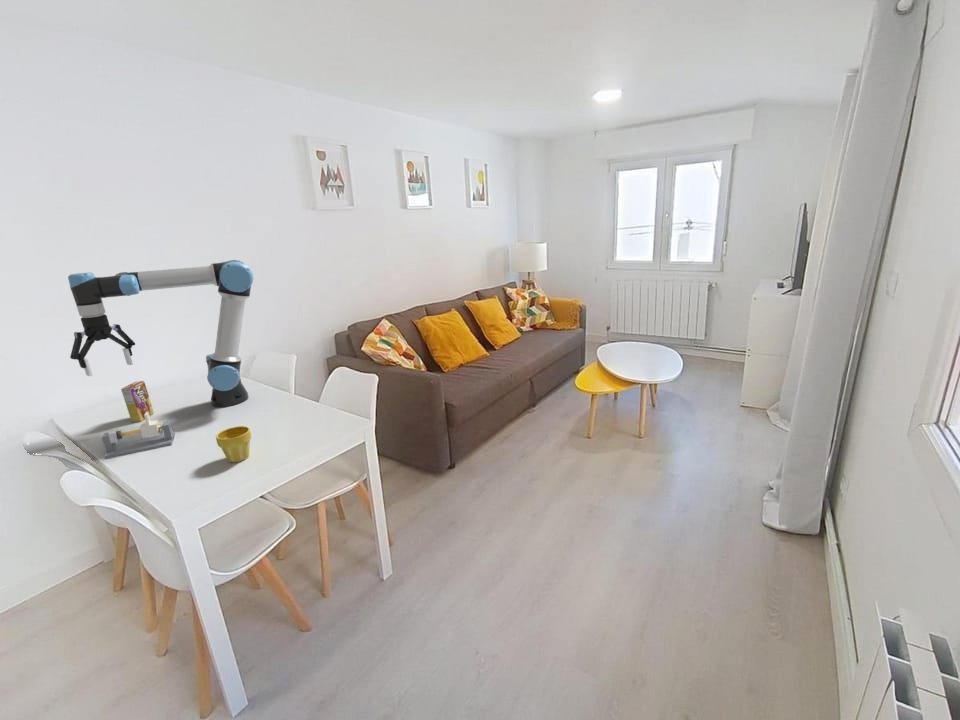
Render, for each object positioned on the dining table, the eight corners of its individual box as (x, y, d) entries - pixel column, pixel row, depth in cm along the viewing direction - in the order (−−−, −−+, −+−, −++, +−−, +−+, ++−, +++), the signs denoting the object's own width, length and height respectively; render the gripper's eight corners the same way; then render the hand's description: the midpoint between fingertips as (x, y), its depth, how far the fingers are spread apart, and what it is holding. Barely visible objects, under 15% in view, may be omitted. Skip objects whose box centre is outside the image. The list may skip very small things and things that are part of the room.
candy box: (144, 413, 199) (135, 381, 195) (154, 413, 199) (145, 380, 195) (130, 422, 191) (120, 388, 186) (140, 421, 191) (131, 387, 186)
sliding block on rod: (175, 434, 178) (170, 416, 175) (171, 444, 169) (166, 425, 167) (112, 447, 169) (106, 428, 167) (105, 458, 161) (98, 438, 158)
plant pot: (229, 451, 162) (224, 426, 159) (259, 449, 163) (254, 424, 160) (216, 466, 152) (209, 440, 149) (248, 464, 153) (242, 438, 150)
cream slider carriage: (160, 430, 173) (155, 410, 170) (159, 434, 169) (153, 414, 166) (145, 433, 171) (139, 412, 168) (142, 438, 167) (136, 417, 164)
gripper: (125, 308, 180) (140, 359, 186) (46, 322, 159) (66, 379, 165) (135, 309, 177) (150, 361, 183) (56, 323, 156) (76, 381, 162)
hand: (110, 369), depth 174 cm, fingers open, 13 cm apart
